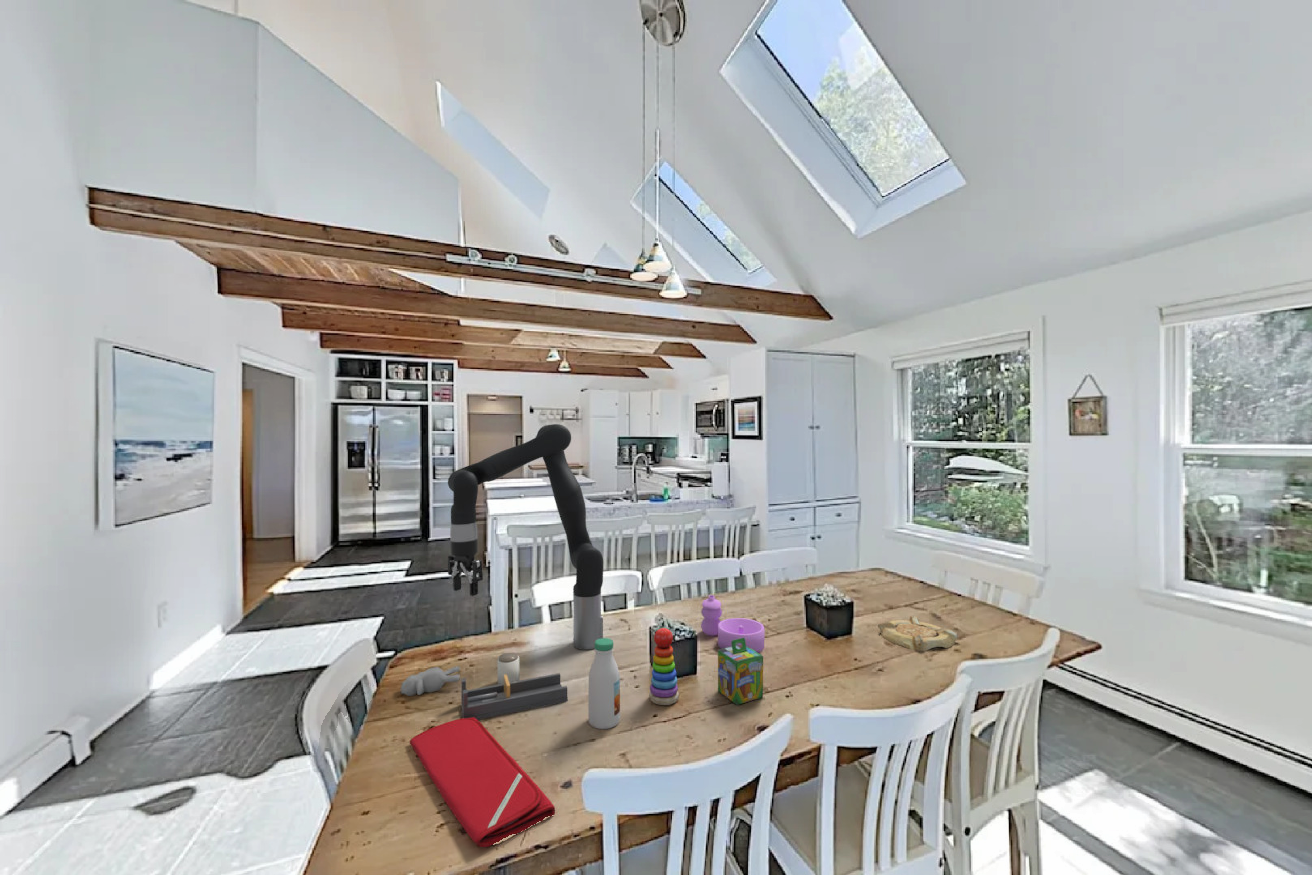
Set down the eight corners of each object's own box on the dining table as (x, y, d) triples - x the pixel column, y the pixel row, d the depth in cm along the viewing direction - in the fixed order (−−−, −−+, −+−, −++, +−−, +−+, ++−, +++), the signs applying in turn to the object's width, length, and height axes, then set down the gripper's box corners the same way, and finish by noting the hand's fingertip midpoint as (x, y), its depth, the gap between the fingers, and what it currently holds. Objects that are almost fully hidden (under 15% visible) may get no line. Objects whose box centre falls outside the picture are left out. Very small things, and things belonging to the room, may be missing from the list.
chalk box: (736, 706, 137) (736, 649, 137) (716, 691, 145) (716, 637, 145) (764, 697, 142) (764, 643, 141) (743, 683, 150) (743, 631, 149)
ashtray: (971, 653, 170) (971, 637, 170) (897, 652, 170) (897, 637, 170) (934, 625, 194) (934, 612, 194) (868, 625, 194) (869, 612, 194)
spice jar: (517, 676, 154) (517, 650, 154) (520, 685, 149) (520, 658, 149) (496, 680, 152) (496, 654, 152) (498, 689, 146) (498, 662, 146)
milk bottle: (607, 733, 125) (607, 650, 125) (582, 724, 129) (581, 643, 129) (626, 718, 131) (625, 638, 131) (601, 709, 136) (601, 632, 135)
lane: (559, 685, 149) (559, 660, 149) (567, 701, 140) (567, 674, 140) (461, 704, 139) (461, 677, 138) (463, 722, 130) (463, 694, 130)
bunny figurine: (401, 672, 149) (458, 657, 154) (404, 689, 149) (460, 674, 154) (398, 687, 140) (458, 671, 145) (401, 706, 140) (461, 689, 145)
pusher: (506, 692, 142) (506, 674, 142) (510, 704, 136) (510, 685, 135) (463, 701, 137) (463, 682, 137) (465, 713, 131) (465, 693, 131)
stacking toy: (685, 698, 141) (685, 629, 141) (664, 710, 135) (664, 637, 135) (663, 688, 147) (663, 621, 146) (643, 699, 141) (642, 629, 141)
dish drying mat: (476, 723, 131) (476, 708, 131) (558, 816, 99) (557, 796, 99) (408, 747, 121) (408, 731, 121) (474, 860, 89) (474, 838, 89)
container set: (773, 646, 175) (773, 606, 175) (743, 659, 166) (743, 617, 165) (718, 625, 195) (718, 589, 194) (688, 635, 185) (688, 597, 185)
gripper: (489, 538, 154) (490, 593, 154) (461, 533, 163) (463, 585, 163) (466, 543, 148) (468, 600, 148) (439, 537, 157) (440, 591, 157)
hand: (465, 592), depth 156 cm, fingers open, 8 cm apart
